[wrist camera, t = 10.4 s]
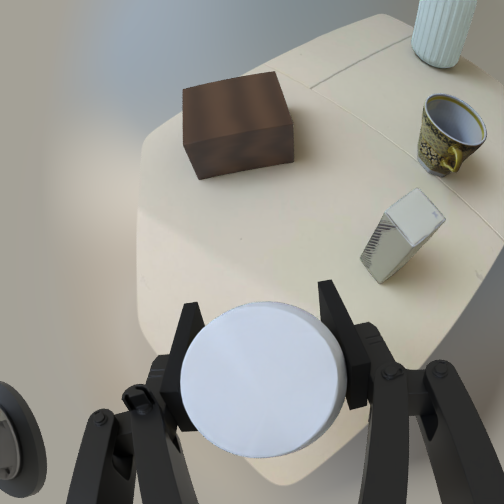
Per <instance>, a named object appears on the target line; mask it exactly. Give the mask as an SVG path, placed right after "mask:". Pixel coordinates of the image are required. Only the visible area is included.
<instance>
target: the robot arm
mask: <svg viewBox="0 0 504 504" xmlns="http://www.w3.org/2000/svg"><path fill="white" fill-rule="evenodd" d="M318 291H319V303H320V316H321V322H322V323H323V324H324V325H325V326H326V327H327V328H328V329H329V330H330V331H331V333H332V334H333V335H334V337H335V338H336V340H337V341H338V343H339V345H340V347H341V350H342V352H343V355H344V358H345V362H346V368H347V390H346V395H345V397H346V400H347V403H348V406H349V409H350V410H352V409H356V408H360V407H364V406H367V399H368V401H369V403H370V413H369V420H368V422H369V426H368V437H367V446H366V455H365V463H364V471H363V477H362V484H361V490H360V497H359V502H358V504H406V498H407V483H408V462H409V416H416V418H417V421H418V424H419V427H420V430H421V433H422V436H423V439H424V443H425V445H426V449H427V452H428V456H429V459H430V462H431V466H432V469H433V473H434V476H435V480H436V483H437V487H438V491H439V495H440V498H441V502H442V504H504V472H503V470H502V467H501V465H500V463H499V460H498V457H497V455H496V452H495V450H494V448H493V445H492V443H491V441H490V438H489V436H488V434H487V432H486V429H485V427H484V425H483V423H482V421H481V419H480V417H479V414H478V412H477V410H476V408H475V406H474V404H473V402H472V400H471V398H470V396H469V394H468V392H467V390H466V389H465V386H464V384H463V383H462V381H461V379H460V377H459V375H458V373H457V371H456V369H455V368H454V366H453V365H452V364H451V363H449V362H448V361H445V360H435V361H432V362H430V363H429V364H428V365H427V367H426V369H425V370H409V369H405V367H403V366H402V365H401V364H399V363H397V362H396V361H395V360H394V358H393V356H392V354H391V352H390V351H389V349H388V347H387V345H386V343H385V341H384V340H383V338H382V336H381V335H380V333H379V331H378V329H377V327H376V326H374V325H373V324H371V323H370V322H366V323H362V324H357V325H354V324H353V322H352V320H351V318H350V316H349V314H348V312H347V310H346V308H345V306H344V304H343V302H342V300H341V298H340V296H339V294H338V292H337V290H336V288H335V286H334V284H333V282H332V280H326V281H320V282H318ZM204 327H205V325H204V322H203V318H202V315H201V312H200V309H199V305H198V302H193V303H186V304H184V306H183V309H182V313H181V316H180V319H179V323H178V326H177V330H176V333H175V337H174V340H173V344H172V347H171V351H170V354H167V355H158V357H157V358H156V359H155V360H154V361H153V363H152V365H151V369H150V372H149V375H148V378H147V381H146V384H145V385H144V384H136V385H133V386H131V387H129V388H128V389H127V390H125V392H124V393H123V395H122V400H123V402H124V404H125V405H126V407H127V408H128V410H129V411H127V412H123V413H119V414H116V415H114V414H113V412H112V411H110V410H109V409H99V410H97V411H95V412H94V413H93V414H92V415H91V416H90V418H89V419H88V422H87V425H86V429H85V432H84V435H83V439H82V443H81V446H80V449H79V453H78V457H77V460H76V464H75V468H74V472H73V476H72V481H71V484H70V488H69V493H68V497H67V502H66V504H133V497H134V488H135V479H136V471H137V474H138V481H139V487H140V492H141V498H142V503H143V504H199V503H198V500H197V498H196V494H195V491H194V488H193V485H192V482H191V478H190V475H189V472H188V468H187V465H186V462H185V458H184V454H183V450H182V447H181V443H180V439H179V437H178V435H177V434H176V430H177V425H178V426H179V428H180V430H181V431H182V432H187V431H198V430H197V428H196V427H195V426H194V424H193V423H192V421H191V420H190V418H189V416H188V414H187V412H186V410H185V407H184V404H183V400H182V396H181V386H180V379H181V369H182V364H183V361H184V358H185V355H186V352H187V350H188V348H189V346H190V344H191V343H192V341H193V340H194V338H195V337H196V336H197V334H198V333H199V332H200V331H201V330H202V329H203V328H204ZM22 467H23V451H22V445H21V441H20V437H19V434H18V432H17V429H16V427H15V425H14V422H13V421H12V419H11V417H10V415H9V414H8V413H7V411H6V410H5V409H4V408H3V407H2V406H1V405H0V479H2V480H9V479H14V478H16V477H18V476H19V474H20V473H21V470H22Z"/></svg>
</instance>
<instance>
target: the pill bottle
mask: <svg viewBox="0 0 504 504" xmlns="http://www.w3.org/2000/svg"><path fill="white" fill-rule="evenodd" d="M180 386H181V396H182V400H183V404H184V407H185V410H186V412H187V414H188V416H189V418H190V420H191V421H192V423H193V424H194V426H195V427H196V428H197V430H198V431H199V432H200V433H201V434H202V435H203V436H204V437H205V438H206V439H208V440H209V441H210V442H212V443H213V444H214V445H216V446H217V447H219V448H221V449H223V450H225V451H227V452H229V453H232V454H235V455H239V456H243V457H249V458H269V457H276V456H282V455H286V454H290V453H293V452H296V451H298V450H300V449H303V448H305V447H306V446H308V445H310V444H311V443H313V442H314V441H316V440H317V439H318V438H319V437H321V436H322V435H323V434H324V433H325V432H326V431H327V430H328V428H329V427H330V426H331V425H332V424H333V422H334V421H335V419H336V418H337V416H338V414H339V412H340V410H341V408H342V405H343V403H344V399H345V395H346V390H347V368H346V362H345V358H344V355H343V352H342V350H341V347H340V345H339V343H338V341H337V340H336V338H335V337H334V335H333V334H332V333H331V331H330V330H329V329H328V328H327V327H326V326H325V325H324V324H323V323H322V322H321V321H320V320H319V319H318V318H316V317H315V316H313V315H312V314H310V313H309V312H307V311H305V310H303V309H301V308H298V307H296V306H293V305H290V304H285V303H280V302H270V301H267V302H254V303H248V304H244V305H241V306H238V307H235V308H233V309H231V310H229V311H227V312H225V313H223V314H222V315H220V316H218V317H217V318H215V319H214V320H212V321H211V322H210V323H209V324H207V325H206V326H205V327H204V328H203V329H202V330H201V331H200V332H199V333H198V334H197V336H196V337H195V338H194V340H193V341H192V343H191V344H190V346H189V348H188V350H187V352H186V355H185V358H184V361H183V364H182V369H181V379H180Z"/></svg>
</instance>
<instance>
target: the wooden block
mask: <svg viewBox="0 0 504 504" xmlns="http://www.w3.org/2000/svg"><path fill="white" fill-rule="evenodd" d="M183 146H184V148H185V151H186V153H187V155H188V157H189V160H190V162H191V164H192V166H193V168H194V171H195V173H196V175H197V177H198V179H199V180H200V179H204V178H209V177H214V176H219V175H224V174H229V173H234V172H239V171H244V170H250V169H255V168H261V167H266V166H272V165H278V164H284V163H290V162H294V135H293V122H292V119H291V116H290V113H289V110H288V107H287V104H286V101H285V98H284V95H283V92H282V90H281V87H280V84H279V81H278V78H277V76H276V73H275V71H273V72H266V73H260V74H253V75H247V76H242V77H236V78H231V79H226V80H221V81H217V82H211V83H207V84H203V85H198V86H194V87H190V88H186V89H183Z"/></svg>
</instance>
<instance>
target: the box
mask: <svg viewBox="0 0 504 504" xmlns="http://www.w3.org/2000/svg"><path fill="white" fill-rule="evenodd" d="M445 220H446V218H445V217H444V216H443V214H442V213H441V212H440V211H439V210H438V209H437V207H436V206H435V205H434V204H433V203H432V202H431V201H430V200H429V198H428V197H427V196H426V195H425V194H424V193H423V192H422V191H421V190H420V189H419V188H415V189H414V190H412V191H411V192H409V193H408V194H407V195H405V196H404V197H402V198H401V199H400V200H398V201H397V202H396V203H394V204H393V205H392V206H391V207H389V208H388V209H387V210H386V211H385V212H384V214H383V216H382V218H381V220H380V222H379V224H378V226H377V228H376V230H375V231H374V233H373V235H372V237H371V239H370V241H369V242H368V244H367V246H366V248H365V249H364V251H363V253H362V255H361V257H360V260H361V261H362V262H363V264H364V265H365V267H366V268H367V269H368V271H369V272H370V273H371V274H372V276H373V277H374V278H375V279H376V281H377V282H378V283H379V284H381V283H382V282H384V281H385V280H387V279H388V278H389V277H390V276H392V275H393V274H394V273H395V272H397V271H398V270H399V269H400V268H401V267H402V266H404V265H405V264H406V263H407V262H408V261H409V260H410V259H411V257H412V256H413V255H414V254H415V253H416V252H417V251H418V250H419V249H420V248H421V247H422V246H423V245H424V244H425V243H426V242H427V241H428V240H429V238H430V237H431V236H432V235H433V234H434V233H435V232H436V231H437V230H438V228H439V227H440V226H441V225H442V224H443V223H444V222H445Z"/></svg>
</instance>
